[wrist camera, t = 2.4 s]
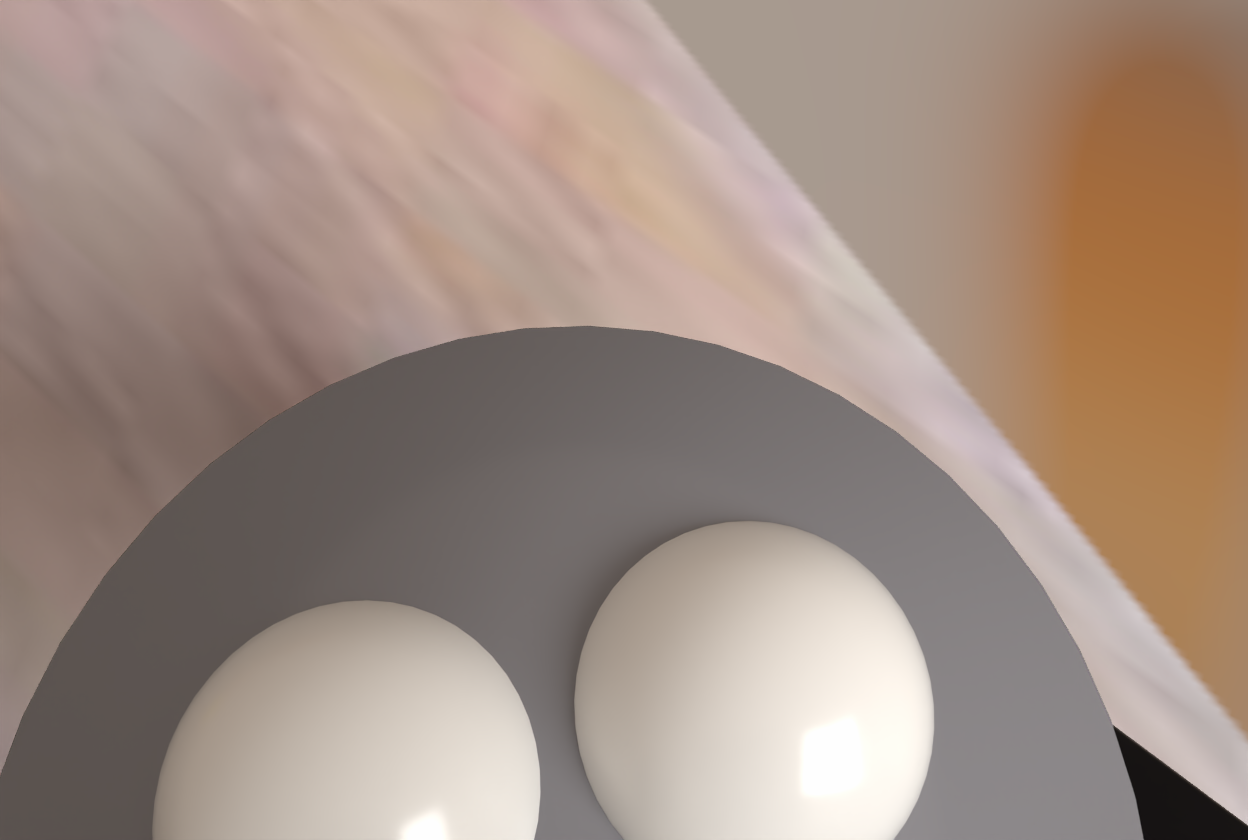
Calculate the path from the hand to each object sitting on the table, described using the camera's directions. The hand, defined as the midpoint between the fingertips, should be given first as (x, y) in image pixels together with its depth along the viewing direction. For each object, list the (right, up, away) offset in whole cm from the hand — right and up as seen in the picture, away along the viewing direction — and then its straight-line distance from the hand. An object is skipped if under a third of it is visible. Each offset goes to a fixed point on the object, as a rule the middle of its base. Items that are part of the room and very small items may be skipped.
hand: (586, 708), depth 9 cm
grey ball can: (0, -2, +8) cm, 8 cm away
